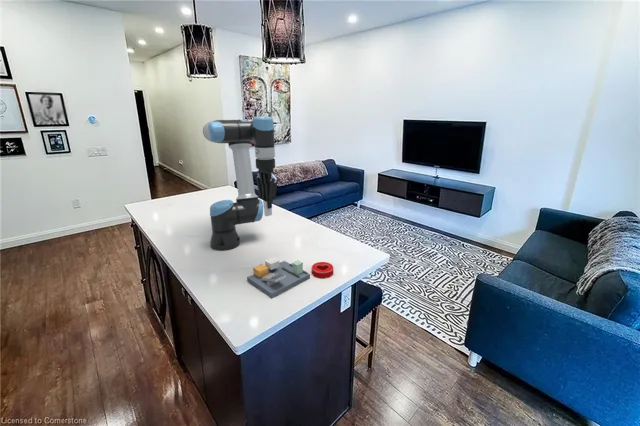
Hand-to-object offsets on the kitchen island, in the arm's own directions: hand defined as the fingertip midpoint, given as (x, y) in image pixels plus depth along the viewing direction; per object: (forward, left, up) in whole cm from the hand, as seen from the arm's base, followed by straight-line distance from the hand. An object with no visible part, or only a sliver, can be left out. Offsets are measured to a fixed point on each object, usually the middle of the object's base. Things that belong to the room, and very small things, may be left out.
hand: (268, 215), depth 122 cm
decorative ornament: (+17, +15, -27) cm, 35 cm away
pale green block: (+12, +5, -24) cm, 27 cm away
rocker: (+11, -7, -22) cm, 25 cm away
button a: (+3, -7, -24) cm, 25 cm away
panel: (+8, -2, -26) cm, 28 cm away
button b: (+3, -1, -23) cm, 23 cm away
